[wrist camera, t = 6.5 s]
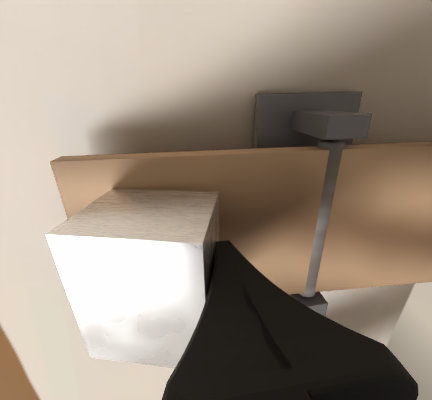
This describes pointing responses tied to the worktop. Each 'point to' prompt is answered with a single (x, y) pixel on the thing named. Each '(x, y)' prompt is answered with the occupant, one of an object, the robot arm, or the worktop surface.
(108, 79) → the worktop surface
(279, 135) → the stand
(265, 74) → the worktop surface
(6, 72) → the worktop surface
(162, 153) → the beam
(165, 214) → the steel block
